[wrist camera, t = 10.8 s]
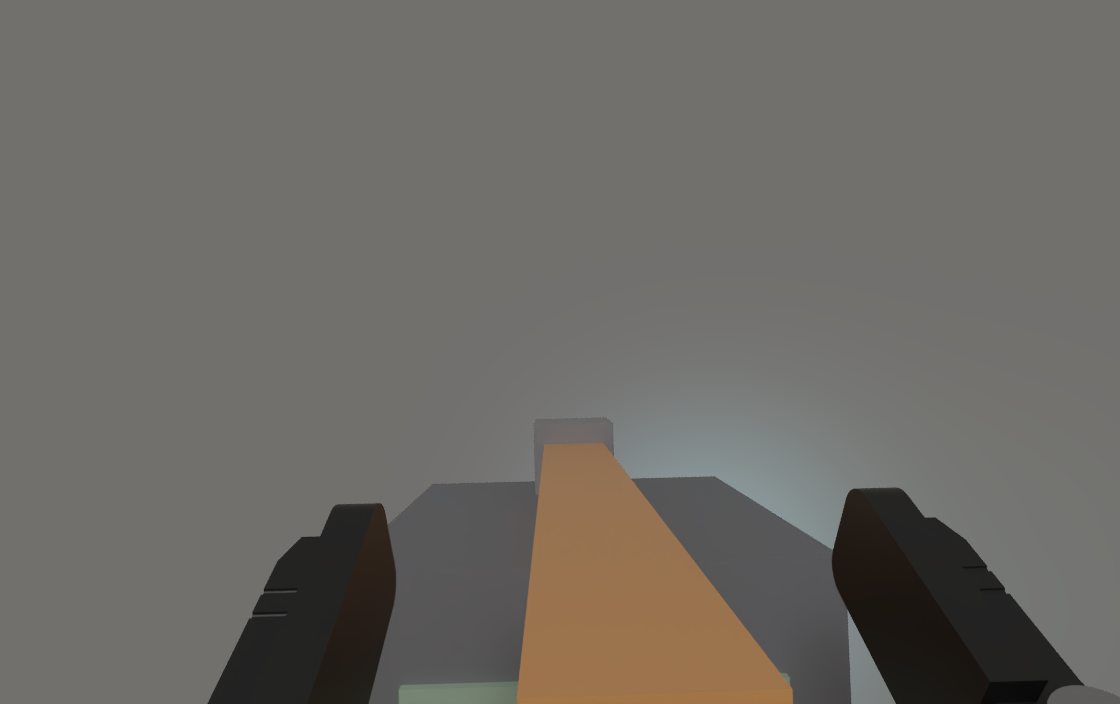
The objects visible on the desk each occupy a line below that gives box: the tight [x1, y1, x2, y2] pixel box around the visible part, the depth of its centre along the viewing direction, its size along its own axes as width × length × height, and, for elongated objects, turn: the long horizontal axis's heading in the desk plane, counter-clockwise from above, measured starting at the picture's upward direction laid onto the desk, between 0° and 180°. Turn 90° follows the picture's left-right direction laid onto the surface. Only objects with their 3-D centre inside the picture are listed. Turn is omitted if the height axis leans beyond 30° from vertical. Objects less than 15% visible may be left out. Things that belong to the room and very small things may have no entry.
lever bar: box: [517, 418, 793, 704], centre depth 21 cm, size 29×4×4 cm, turn 1°
